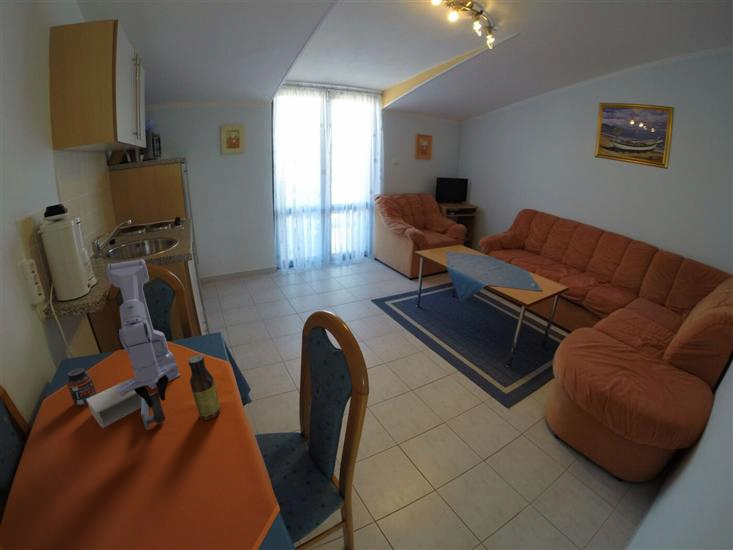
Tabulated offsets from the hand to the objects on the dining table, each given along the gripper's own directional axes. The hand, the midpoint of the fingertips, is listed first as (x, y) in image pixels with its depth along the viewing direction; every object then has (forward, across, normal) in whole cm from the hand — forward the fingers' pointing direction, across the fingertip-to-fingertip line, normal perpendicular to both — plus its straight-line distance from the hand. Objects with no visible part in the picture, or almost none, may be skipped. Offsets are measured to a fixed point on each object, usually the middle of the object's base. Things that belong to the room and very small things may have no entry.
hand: (156, 402), depth 98 cm
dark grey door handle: (+7, 0, +5) cm, 8 cm away
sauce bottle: (+8, +11, -8) cm, 15 cm away
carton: (+7, -6, +16) cm, 19 cm away
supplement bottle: (+8, -12, +29) cm, 32 cm away
